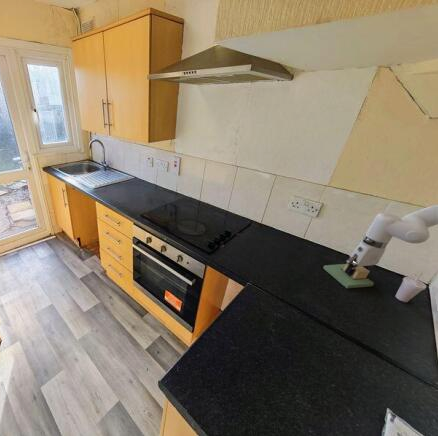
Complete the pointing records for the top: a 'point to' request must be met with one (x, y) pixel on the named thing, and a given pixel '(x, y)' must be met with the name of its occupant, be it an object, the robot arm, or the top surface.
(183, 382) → the top surface
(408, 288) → the smoothie
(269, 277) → the top surface
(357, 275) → the tan block
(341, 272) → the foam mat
